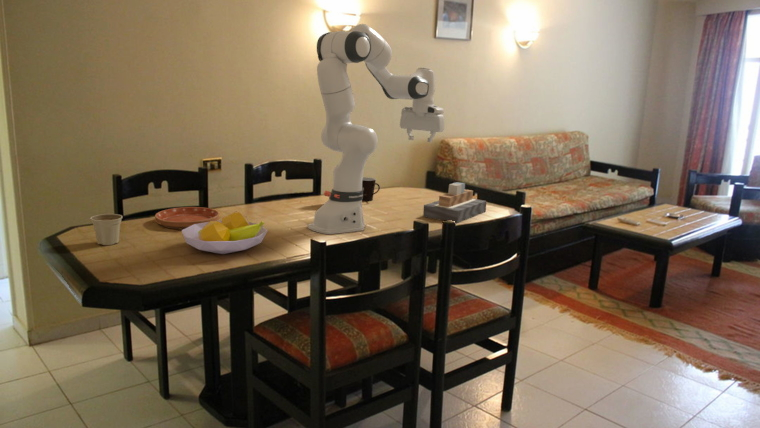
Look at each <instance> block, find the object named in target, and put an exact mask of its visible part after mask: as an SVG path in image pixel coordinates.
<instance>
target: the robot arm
mask: <svg viewBox="0 0 760 428" xmlns="http://www.w3.org/2000/svg"><path fill="white" fill-rule="evenodd" d="M316 54H317V58H318V61H319V62H318V64H317V65H316V72H317V74H316V75H317V82H318V86H319V92H320V95H321V99H322V102H323V106H324V109H325V111H324V112H325V125H324V127H323V129H322V131H321V142H322V144H323V145H324V146H325V147H326V148H327V149H330V150H332V151H333V152H338V153H342V156H341V160H340V162H339V164H337V165H336V166H335V167H334V168H333V177H332V178H333V179H332V180H333V181H332V183H333V184H332V189H331V191H329V190H325V191H323V195H324V197H327V198H328V200H327V201H326V202H325V203H323V204H322V205H321V206H320V207H319V208H318V209H317V210H316V211H315V214H314V218H313V222H311V223H308V224H307V228H308V229H309V230H310V231H314V232H317V233H319V234H324V235H333V234H334V235H335V234H344V233H353V232H360V231H365V227H366V223H365V220H364V213H363V201H362V199H363V190H362V179H363V177H364V170H365V165H366V163H367V161H368V158H369V157H370V156H371V155H372V154H373V153H374V152H375V151H376V149H377V148H378V143H379V139H378V138H379V137H378V135H377V132H376V131H375V130H374V129H372V128H370V127H368V126H365V125H361V124H355V123H354V124H353V123H352V119H351V115H352V112H354V110H355V109H356V101H355V96H354V93H353V88H352V84H351V82H350V77H349V76H348V73H347V71H348V70H347V67H348V64H353V63H354V64H358V63H361V62H364V63H365V64H364V65H365V66H366V68H367V70H368V71H369V72H370V74H371V75H372V77H374V79H375V80H376V81H377V82H378V84H379V85H380V86H381V87H380V88H381V89H382V91H383V93H384V96H386V97H387V99H390V100H412V106H411V107H409V106H404V107H403V108H402V109H401V111H400V112H401V113H400V114H401V116H400V121H399V127H400V128H401V129H404V130H406V134H407V135H408V141H413V140H414V137H415V136H414V135H413V134H412V132H413V130H414V131H425V132H430V133H429V134H430V136H429V137H428V138H427V143H433V140H434V137H435V136H436V134H437V133H442V132H443V131H444V129H445V116H444V112H445V109H444V108H443V107H441V106H438V105H436V104H435V99H434V95H435V94H434V93H435V91H436V90H435V89H436V76H435V75H436V74H435V71H433V70H432V69H429V68H425V67H418V68H416V71H415V72H413V73H411V74H407V75H406V74H405V75H404V74H395V73H391V72H390V71H389V69H388V68H387V66H389V63H390V62H391V60H392V57H393V49H392V48H391V46H390V44H389V43H388V42H387V40H386V39H385V38H384V37H383V36H382V35H381V34H380V33H379V32H378V31H376V29H374V28H372V27H371V26H369V25H368V24H365V23H360V24H357V25H355V26H354V27H353V28H351V30H350V31H348V30H347V31H346V30H338V31H333V32H331V31H330V32H325V33H323V34H321V36H319V37H318V39H317V42H316Z"/></svg>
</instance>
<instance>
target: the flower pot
mask: <svg viewBox="0 0 760 428" xmlns="http://www.w3.org/2000/svg"><path fill="white" fill-rule="evenodd" d="M122 219H123V215H122V214H117V213H104V214H97V215H92V216H91V217H90V219H89V220H90V221H91V222H92V224H93V229H94V232H95V233H94V234H95V237H96V243H97V244H98V245H103V246H111V245H115V244H118V243H119V241H120V231H121V230H120V229H121V223H122Z"/></svg>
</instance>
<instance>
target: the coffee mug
mask: <svg viewBox="0 0 760 428" xmlns="http://www.w3.org/2000/svg"><path fill="white" fill-rule="evenodd" d="M376 185H377V187H378V188H377V190H376V191H375V188H376V187H375V186H376ZM380 189H381V187H380V185H379V183H377V182H376V178H375V177H368V176H367V177H364V176H363V179H362V190H363V199H362V202H372V201H373V199H374V195H376V194H378V192H380Z"/></svg>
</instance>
